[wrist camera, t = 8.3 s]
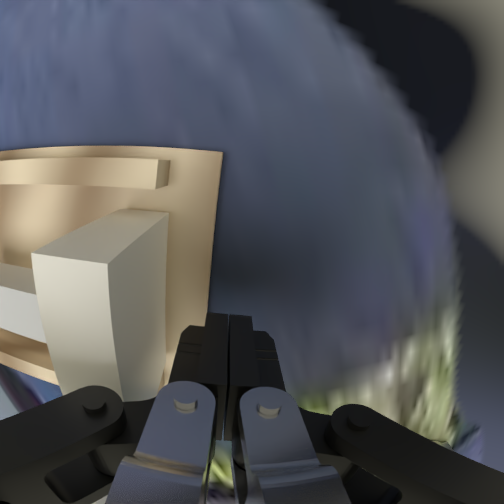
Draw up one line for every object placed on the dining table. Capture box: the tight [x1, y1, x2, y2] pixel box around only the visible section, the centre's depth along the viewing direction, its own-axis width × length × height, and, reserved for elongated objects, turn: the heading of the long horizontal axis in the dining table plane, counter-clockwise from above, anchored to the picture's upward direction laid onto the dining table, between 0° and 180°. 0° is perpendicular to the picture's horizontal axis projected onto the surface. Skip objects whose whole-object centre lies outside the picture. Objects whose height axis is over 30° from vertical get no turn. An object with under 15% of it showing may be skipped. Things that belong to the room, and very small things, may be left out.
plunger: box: [0, 209, 169, 402], centre depth 8 cm, size 10×7×6 cm
